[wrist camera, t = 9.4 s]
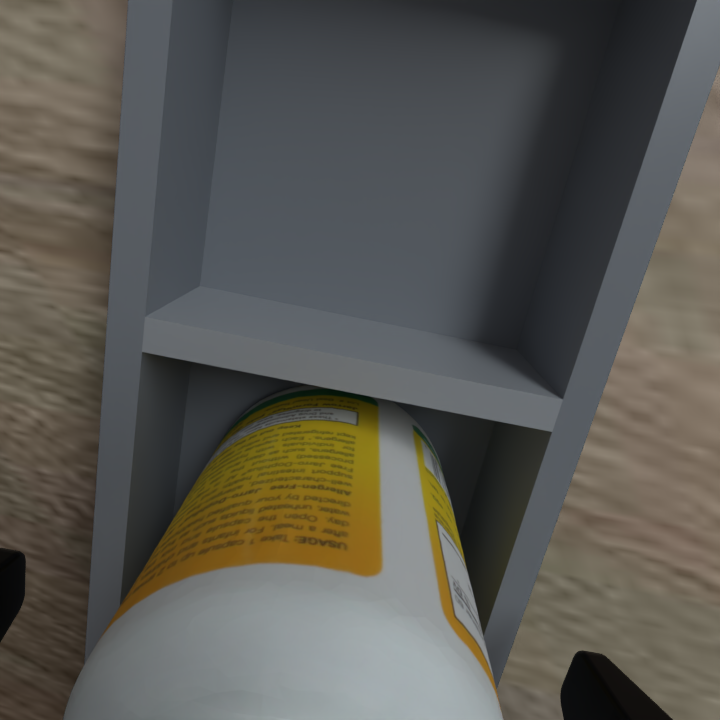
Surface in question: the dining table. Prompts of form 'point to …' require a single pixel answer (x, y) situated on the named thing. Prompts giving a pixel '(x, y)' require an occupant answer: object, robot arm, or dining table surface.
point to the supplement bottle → (302, 582)
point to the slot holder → (386, 243)
